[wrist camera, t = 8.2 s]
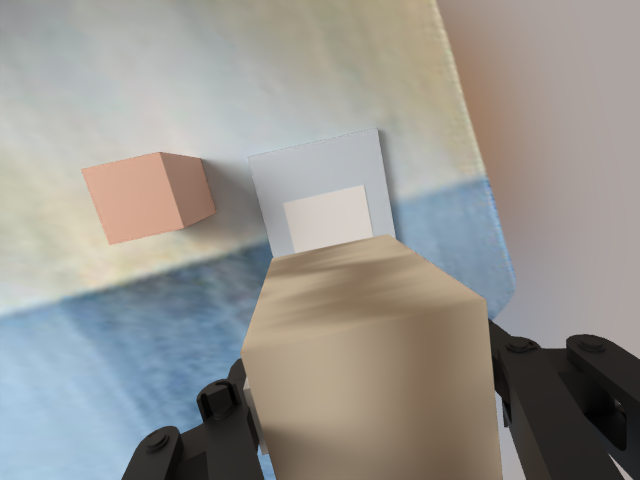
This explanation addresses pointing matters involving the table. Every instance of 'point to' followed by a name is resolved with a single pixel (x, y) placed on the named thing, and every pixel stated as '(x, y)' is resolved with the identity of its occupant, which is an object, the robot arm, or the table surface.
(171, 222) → the terracotta block
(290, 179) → the white flat board
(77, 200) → the table surface
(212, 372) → the table surface
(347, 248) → the beech block
